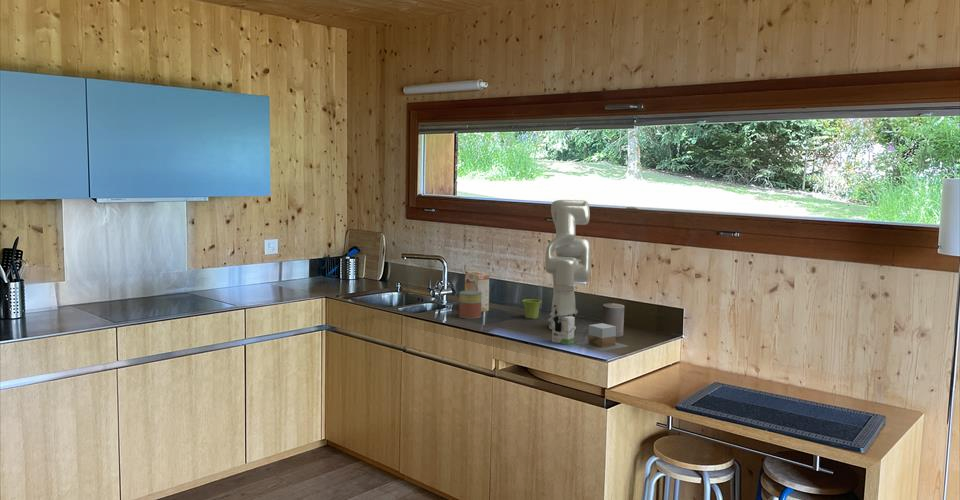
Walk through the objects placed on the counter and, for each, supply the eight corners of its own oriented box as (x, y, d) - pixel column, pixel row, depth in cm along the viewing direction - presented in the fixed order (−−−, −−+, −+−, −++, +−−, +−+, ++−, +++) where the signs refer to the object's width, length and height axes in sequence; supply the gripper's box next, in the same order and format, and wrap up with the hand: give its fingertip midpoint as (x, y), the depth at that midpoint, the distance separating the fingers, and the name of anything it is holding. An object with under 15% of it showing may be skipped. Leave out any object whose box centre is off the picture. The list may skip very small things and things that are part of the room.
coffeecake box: (463, 307, 385) (464, 270, 383) (475, 306, 389) (476, 270, 387) (477, 312, 372) (477, 274, 370) (489, 311, 376) (489, 273, 374)
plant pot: (518, 317, 361) (518, 300, 360) (532, 315, 367) (532, 298, 366) (530, 320, 353) (530, 303, 353) (544, 318, 359) (545, 301, 358)
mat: (574, 344, 307) (574, 343, 306) (601, 339, 316) (601, 338, 316) (602, 351, 294) (602, 351, 294) (629, 346, 303) (629, 345, 303)
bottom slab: (588, 343, 306) (588, 334, 305) (601, 341, 310) (601, 332, 310) (601, 347, 299) (602, 338, 299) (615, 345, 304) (615, 335, 303)
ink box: (574, 343, 307) (575, 316, 306) (567, 345, 303) (568, 318, 302) (558, 340, 313) (559, 313, 311) (551, 342, 309) (552, 315, 308)
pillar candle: (597, 333, 327) (598, 301, 325) (615, 332, 331) (616, 299, 329) (609, 338, 318) (610, 305, 316) (627, 337, 322) (629, 303, 320)
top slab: (588, 334, 305) (588, 325, 305) (601, 332, 310) (602, 323, 309) (602, 338, 299) (602, 328, 298) (615, 335, 303) (616, 326, 303)
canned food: (483, 314, 365) (484, 291, 364) (478, 319, 354) (478, 295, 353) (462, 313, 368) (462, 290, 367) (456, 317, 357) (456, 293, 356)
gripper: (573, 285, 313) (572, 326, 315) (543, 288, 303) (542, 331, 305) (585, 288, 307) (584, 330, 309) (555, 291, 297) (554, 334, 299)
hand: (563, 330), depth 307 cm, fingers closed on ink box, 5 cm apart
